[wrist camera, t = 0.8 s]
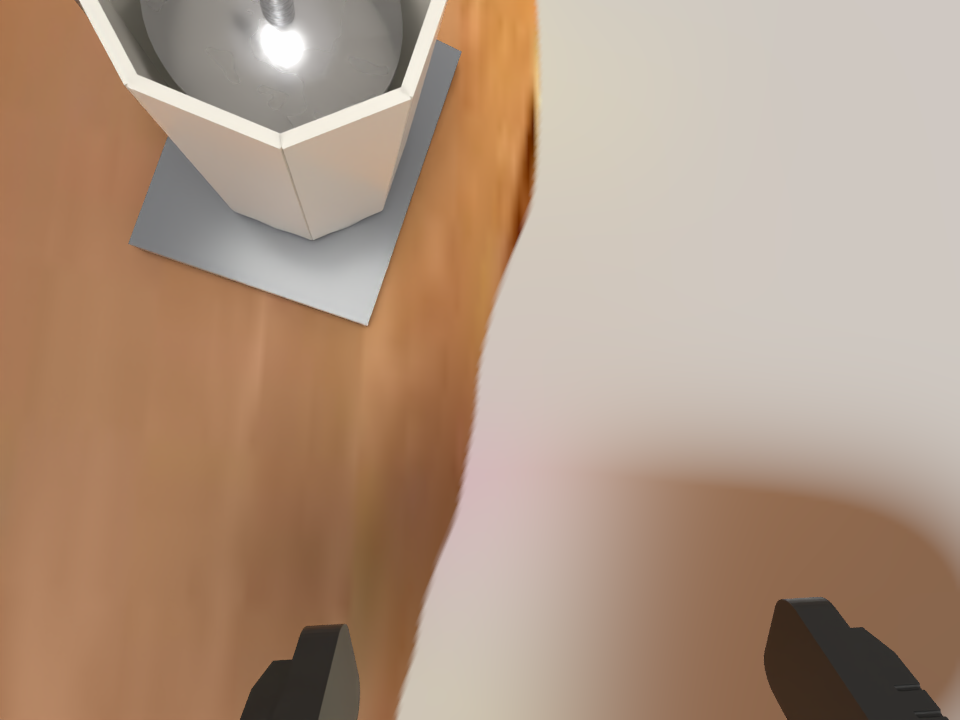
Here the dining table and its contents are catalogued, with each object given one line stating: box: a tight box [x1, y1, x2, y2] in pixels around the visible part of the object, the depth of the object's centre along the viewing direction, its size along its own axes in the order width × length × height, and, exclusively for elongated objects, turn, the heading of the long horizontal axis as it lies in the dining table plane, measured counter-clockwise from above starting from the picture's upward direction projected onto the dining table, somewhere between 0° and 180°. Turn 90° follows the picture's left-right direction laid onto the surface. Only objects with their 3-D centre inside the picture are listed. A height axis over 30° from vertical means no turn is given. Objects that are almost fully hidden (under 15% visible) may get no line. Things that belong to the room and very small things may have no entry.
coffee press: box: [75, 0, 461, 326], centre depth 22 cm, size 13×16×16 cm
